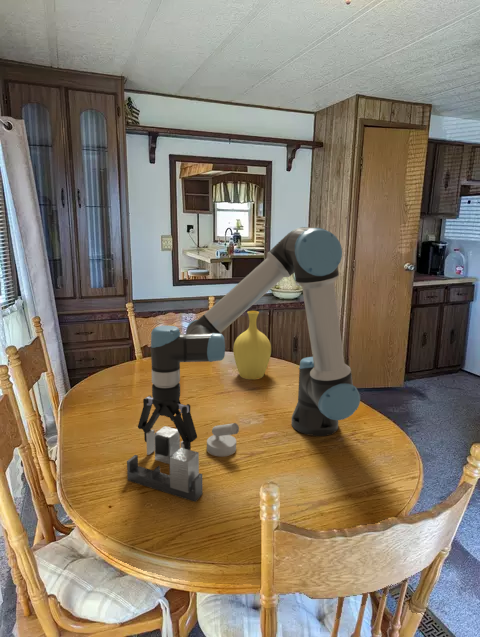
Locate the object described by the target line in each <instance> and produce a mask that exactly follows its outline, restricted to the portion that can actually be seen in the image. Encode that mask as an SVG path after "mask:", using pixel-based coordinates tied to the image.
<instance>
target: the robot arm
mask: <svg viewBox="0 0 480 637" xmlns="http://www.w3.org/2000/svg"><path fill="white" fill-rule="evenodd" d="M266 254H267V255H266V258H265V259H264V260H263V261H262V262H261V263H260V264H258V265H257V266H256V267H255V268H254V269H252V271H251V272H249V274H247V275H246V276H245V277H244V278H243V279H242V280H241V281H239V282H238V283H237V284H236V285H235V286H234V287H233V288H232V289H230V290H229V291H228V292H227V293H226V294H225V295H224V296H223V297H222V298H220V300H218V301H217V302H216V303H215V304H214V305H212V306H211V307H210V308H209V309H208V310H207V311H206V312H205V313H203V315H201V316H200V317H199V318H198V319H195V320H192V321H191V322H190V323H189V324H188V325H187V327H186V331H185V333H181V331H180V328H179V327H177V326H175V325H159V326H156V327H154V328H153V329H152V330H151V332H150V356H151V357H150V358H151V383H152V385H151V395H152V396H151V395H148V396H147V397H145V398H143V400H142V403H143V404H142V411H141V414H140V418H139V421H138V424H137V428H138V429H139V430H143V432H144V433H143V434H144V436H143V437H144V442H145V443H146V455H148V456H150V455H152V453H154V452H155V441H154V434H155V429H153V428H154V425H155V424H156V422H157V420H158V419H159V417H160V416H161V417H163V416H164V417H167V418H169V419H170V421H171V422H173V424H174V426H175V427H176V428H175V429H177V430H178V432H179V434H180V437H181V438H180V439H181V440H182V441H180V448H184V449H188V450H191V447H192V444H191V443H193V442H194V441H195V440H196V439H198V434H197V431H196V428H195V425H194V420H193V417H192V413H191V405H190V404H189V403H187V404H186V405H185V404H183V403H181V401H180V398H181V383H180V381H181V363H201V362H202V363H203V362H204V363H205V362H206V363H208V362H209V363H212V362H220V361H222V360H223V359H225V356H226V354H225V353H226V342H225V341H226V340H225V336H224V335H223V334H222V333H223V332H224V331H225V330H226V329H227V328H228V327H229V326H230V325H232V324H233V323H234V322H236V320H237V319H239V317H241V316H242V315H243V314H244V313H245V312H246V311H248V310H249V309H250V308H251V307H252V306H253V305H254V304H255V303H257V302H258V301H259V300H260V299H261V298H262V297H263V296H264V295H266V294H267V293H268V292H269V291H270V290H271V289H273V288H274V286H276V285H277V284H279V282H280V281H282V279H284V278H290V277H291V276H293V275H294V279H295V283H296V285H299V286H300V287H301V288H302V294H303V301H304V308H305V315H306V321H307V328H308V333H309V334H308V335H309V342H310V348H311V353H312V356H307V357H303V358H302V359H301V360H300V362H299V368H298V370H299V372H298V394H297V395H298V396H297V402H296V405H295V407H294V410H293V412H292V414H291V426H292V427H293V429H294V430H296V431H297V432H299V433H302V434H304V435H307V436H313V437H314V436H315V437H325V436H330V435H333V434H335V433H336V432H337V431H338V429H339V421H342V420H345V419H348V418H350V416H353V415H354V413H355V412H356V411H357V409H358V408H359V406H360V404H361V394H360V393H359V390H358V388H357V387H356V386H355V385H354V384H353V383H354V382H353V375H352V370H351V367H350V366H349V365H348V364H346V363H345V357H344V348H343V342H342V341H343V340H342V334H341V327H340V319H339V311H338V305H337V304H338V303H337V295H336V288H335V282H336V280H337V279H339V278H338V277H340V276H339V275H340V274H339V265H340V263H341V261H342V258H343V248H342V245H341V242H340V240H339V239H338V237H337V236H336V234H334V233H332V232H331V231H329V230H326V229H325V228H322V227H306V226H304V227H303V226H302V227H296V228H295V229H293V230H291V231H290V232H288V233H287V234H286V235H285V236H284V237H283V238H282V239H281V240H279V241H278V242H277V243H276V245H274V247H272V248H271V249H270V250H268V252H267V253H266ZM152 407H154V410H153V412H152V413H151V411H152ZM150 413H151V414H152V415H151V416H150ZM149 417H150V418H149Z"/></svg>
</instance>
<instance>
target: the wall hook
mask: <svg viewBox="0 0 480 637" xmlns="http://www.w3.org/2000/svg"><path fill="white" fill-rule="evenodd" d="M239 431H240V427H239V425H238V424H237V423H236V422H234V423H233V422H232V423H227V424H225V423H224V424H220V425H219V424H218V425H215V426H213V427H212V430H211V432H212V435H211V436H209V437H208V438H207V439H206V452H208V454H210V455H212V456H215V457H228V456H232V455H233V454H234V453H235V452H236V451H237V439H236V437H235V436H233V435H237V434H239Z"/></svg>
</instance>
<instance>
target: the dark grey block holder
mask: <svg viewBox="0 0 480 637" xmlns="http://www.w3.org/2000/svg"><path fill="white" fill-rule="evenodd" d="M199 455H200V453H199V451H195V450H188V449H184V448H181V447H180V449H179V450H177V451H176V452H175V453H174V454H173V455H171V456H170V457H169V464H168V465H169V474H167V473H164V472H161V466H160V465H158V466H156V467H155V468H154V469H150V468H146V467H143V466H140V465H139V455H137V454H135V455H133V456H132V457H130V458H129V459H128V460H126V470H127V471H126V472H127V473H126V474H127V481H128V482H132V483H134V484H137V485H141V486H144V487H148V488H150V489H154V490H156V491H160V492H163V493H166V494H169V495H173V496H175V497H178V498H182V499H185V500H187V501H188V500H189V501H191V502H194V503H197V501H198V500H199V499H200V498H201V497H202V495H203V473H201V472H199V470H200V466H199V464H200V462H199V461H200V460H199V459H200V458H199Z"/></svg>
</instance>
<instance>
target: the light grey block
mask: <svg viewBox="0 0 480 637" xmlns="http://www.w3.org/2000/svg"><path fill="white" fill-rule="evenodd" d="M180 437H181V436H180V434H179V432H178V430H177V428H173V427H170V426H166V425H165V426H162V427H161V428H160V429H158V430H157V431H155V432H154V443H155V451H154V461H158V462H161V463H164V464H168V465H169V457H170V456H171V455H173V454H174V453H175V452H176V451H177V450H179V449H180V448H181V440H180V439H181V438H180Z"/></svg>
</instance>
